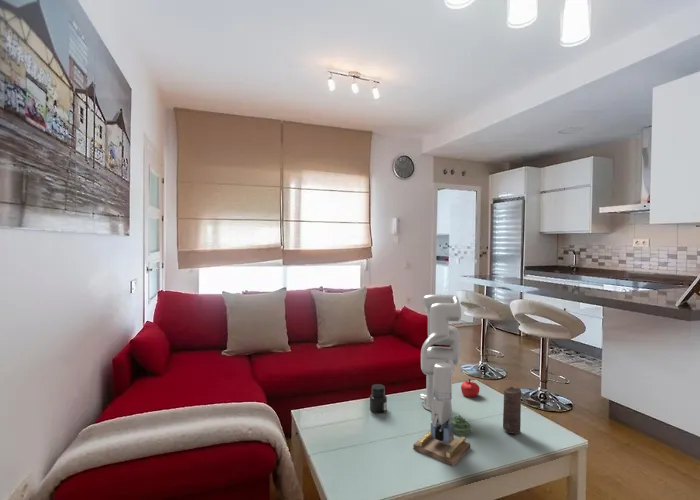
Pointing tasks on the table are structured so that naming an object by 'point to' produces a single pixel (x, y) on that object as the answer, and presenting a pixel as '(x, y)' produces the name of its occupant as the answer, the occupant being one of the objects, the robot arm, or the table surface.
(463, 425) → the decorative artifact
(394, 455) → the table surface
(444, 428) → the block
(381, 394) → the ink bottle
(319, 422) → the table surface
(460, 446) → the channel stand
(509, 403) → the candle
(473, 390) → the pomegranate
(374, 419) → the table surface
